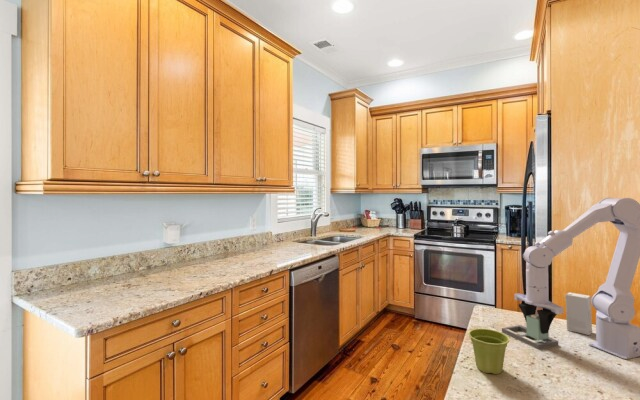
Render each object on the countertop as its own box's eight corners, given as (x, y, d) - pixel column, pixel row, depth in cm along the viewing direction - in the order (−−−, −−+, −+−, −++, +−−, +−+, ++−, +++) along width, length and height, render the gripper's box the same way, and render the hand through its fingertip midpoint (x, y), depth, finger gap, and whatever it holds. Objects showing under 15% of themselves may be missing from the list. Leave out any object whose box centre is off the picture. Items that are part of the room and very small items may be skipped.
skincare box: (592, 332, 106) (592, 295, 106) (589, 336, 103) (588, 298, 103) (569, 326, 111) (569, 291, 111) (565, 330, 108) (565, 294, 108)
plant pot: (494, 382, 79) (493, 347, 79) (461, 365, 87) (461, 332, 87) (517, 372, 83) (517, 338, 83) (484, 356, 91) (483, 325, 91)
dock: (558, 345, 98) (558, 340, 98) (538, 349, 95) (538, 344, 95) (520, 328, 110) (520, 324, 110) (501, 331, 108) (501, 327, 108)
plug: (548, 338, 98) (548, 316, 98) (538, 340, 97) (538, 318, 97) (536, 333, 102) (536, 312, 102) (526, 334, 101) (526, 313, 101)
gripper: (506, 281, 105) (507, 322, 106) (550, 293, 92) (550, 341, 92) (523, 279, 108) (524, 320, 108) (568, 291, 94) (569, 338, 94)
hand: (537, 329), depth 100 cm, fingers closed on plug, 4 cm apart
